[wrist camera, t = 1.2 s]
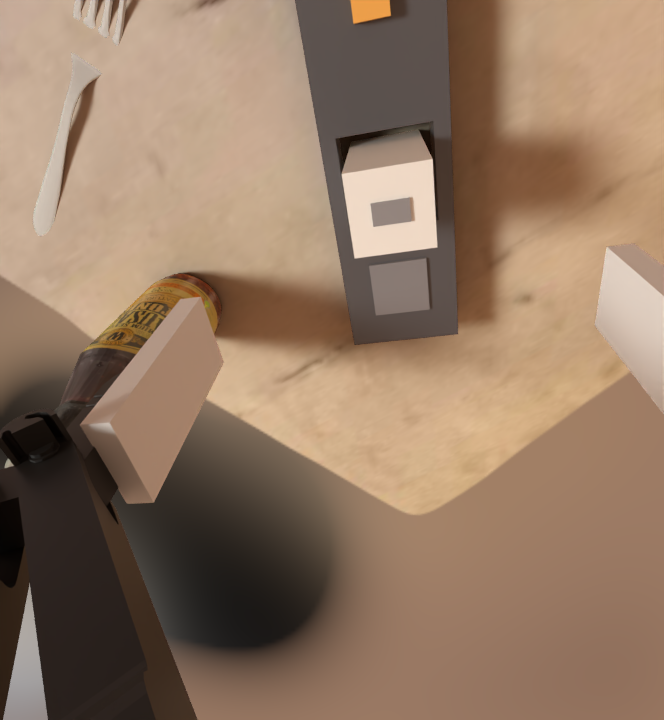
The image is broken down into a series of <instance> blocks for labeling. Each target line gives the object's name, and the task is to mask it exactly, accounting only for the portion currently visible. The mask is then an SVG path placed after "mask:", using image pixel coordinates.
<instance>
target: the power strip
mask: <svg viewBox="0 0 664 720" xmlns="http://www.w3.org/2000/svg"><path fill="white" fill-rule="evenodd" d="M295 3H296V9H297V14H298V20H299V26H300V32H301V37H302V43H303V49H304V55H305V61H306V66H307V72H308V78H309V84H310V90H311V95H312V101H313V107H314V113H315V118H316V124H317V130H318V136H319V142H320V147H321V153H322V159H323V165H324V170H325V176H326V182H327V188H328V194H329V199H330V205H331V211H332V217H333V223H334V228H335V234H336V240H337V246H338V251H339V257H340V263H341V269H342V275H343V280H344V286H345V292H346V298H347V303H348V309H349V315H350V321H351V327H352V332H353V338H354V344H355V345H359V344H368V343H378V342H387V341H397V340H407V339H416V338H426V337H435V336H445V335H454V334H458V319H457V289H456V259H455V229H454V200H453V170H452V140H451V110H450V80H449V51H448V21H447V0H295ZM425 122H430V138H431V156H432V159H433V176H434V194H435V212H436V231H437V248H429V249H422V250H415V251H407V252H400V253H392V254H385V255H377V256H370V257H363V258H354V251H353V245H352V238H351V232H350V225H349V219H348V213H347V206H346V200H345V193H344V187H343V180H342V171H343V168H344V163H343V157H342V150H341V143H340V138H342V137H347V136H353V135H358V134H364V133H370V132H375V131H381V130H386V129H392V128H398V127H403V126H409V125H414V124H420V123H425Z"/></svg>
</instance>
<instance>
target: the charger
mask: <svg viewBox="0 0 664 720" xmlns="http://www.w3.org/2000/svg"><path fill="white" fill-rule="evenodd" d="M342 180H343V187H344V193H345V200H346V206H347V213H348V219H349V225H350V232H351V238H352V245H353V251H354V258H363V257H370V256H377V255H385V254H392V253H400V252H407V251H415V250H422V249H429V248H437V231H436V212H435V194H434V176H433V159H432V157H431V155H430V153H429V151H428V148H427V146H426V144H425V142H424V140H423V138H422V136H421V134H420V132H419V130H414V131H408V132H402V133H397V134H391V135H385V136H380V137H374V138H368V139H363V140H357V141H351V145H350V148H349V151H348V154H347V158H346V161H345V164H344V168H343V171H342Z"/></svg>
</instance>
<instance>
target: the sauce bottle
mask: <svg viewBox="0 0 664 720" xmlns="http://www.w3.org/2000/svg"><path fill="white" fill-rule="evenodd" d="M194 297H201V299H202V302H203V304H204V307H205V310H206V313H207V316H208V319H209V321H210V324H211V327H212V330H213V333H215V331H216V328H217V327H218V325H219V321H220V318H221V311H222V310H221V304H220V301H219V298H218V296H217V294H216V293H215V291H214V290H213V289H212V288H211V287H210V286H209V285H208V284H207V283H205V282H204V281H202V280H200V279H198V278H196V277H194V276H190V275H188V274H185V275H184V274H180V273H179V274H174V275H171V276H169V277H165V278H164V279H162V280H160V281H157V282H156V283H154V284H153V285H152V286H151V287H149V288H148V289H147V290H146V291H145V292H144V293H143V294H142V295H141V296H140V297H139V298H138V299H137V300H136V301H135V302H134V303H133V304H132V305H131V306H130V307H129V308H128V309H127V310H126V311H125V312H124V313H122V314H121V315H120V316H119V317H118V318H117V319H116V320H115V321H114V322H113V323H112V324H111V325H110V326H109V327H108V328H107V329H106V330H105V331H104V332H103V333H102V334H101V335H100V336H99V337H98V338H97V339H96V340H95V341H94V342H92V343H91V344H90V345H89V346H88V347H87V348H86V349H85V350H84V351H83V352H82V353H81V354H80V356H79V359H78V361H77V363H76V366H75V368H74V370H73V373H72V375H71V377H70V380H69V382H68V384H67V387H66V389H65V392H64V394H63V396H62V400H61V403H60V405H59V406H58V407H57V409H56V410H55V411H54V412H55V413H56V414H57V415H58V417H59V418H60V420H61V422H62V423H63V425H64V427H65V428H66V429H67V427H68V426H69V425H70V424H71V423H72V421H73V420H74V419H75V418H76V417H77V415H78V414H79V413H80V412H81V411H82V409H83V408H85V407H86V405H87V403H88V402H89V401H90V400H91V398H94V395H95V394H96V392H97V391H98V390H99V389H100V388H101V386H102V385H103V384H104V383H106V382H107V381H109V380H110V379H111V378H113V377H114V376H115V375H117V374H121V373H122V372H123V370H124V369H125V368H126V367H127V365H128V364H129V363H130V362H131V360H132V359H133V358H134V357H135V355H136V354H137V353H138V352H139V350H140V349H141V348H142V347H143V345H144V344H145V343H146V342H147V340H148V339H149V338H150V337H151V335H152V334H153V333H154V332H155V330H156V329H157V328H158V327H159V325H160V324H161V323H162V322H163V320H164V319H165V318H166V317H167V315H168V314H169V313H170V312H171V310H172V309H173V308H174V307H175V305H176V304H177V303H178V302H179V300H180V299H186V298H194ZM11 466H14V465H13V464H12V463H11V461H10V460H9V458H8V459H7V461H6V464H5V468H8V467H11Z"/></svg>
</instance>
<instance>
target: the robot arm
mask: <svg viewBox="0 0 664 720" xmlns="http://www.w3.org/2000/svg"><path fill="white" fill-rule="evenodd" d="M595 327H596V328H597V329H598V331H599V332H600V333H601V334H602V336H603V337H604V338H605V340H606V341H607V342H608V343H609V345H610V346H611V347H612V348H613V350H614V351H615V352H616V354H617V355H618V356H619V357H620V359H621V360H622V361H623V363H624V364H625V365H626V366H627V368H628V369H629V370H630V372H631V373H632V374H633V375H634V377H635V378H636V379H637V381H638V382H639V383H640V384H641V386H642V387H643V388H644V390H646V392H647V393H648V395H649V396H650V397H651V399H652V400H653V401H654V402H655V404H656V405H657V406H658V408H659V409H660V410H661V411H662V413H663V414H664V266H663V265H662V264H661V263H659V262H658V261H657V260H656V259H654V258H653V257H652V256H650V255H649V254H648V253H646V252H645V251H644V250H642V249H641V248H640V247H638V246H637V245H636V244H634V243H632V244H624V245H616V246H608V247H607V248H606V255H605V261H604V268H603V275H602V281H601V288H600V294H599V301H598V308H597V314H596V321H595ZM223 363H224V361H223V359H222V356H221V353H220V350H219V347H218V344H217V341H216V339H215V336H214V333H213V330H212V327H211V324H210V321H209V319H208V316H207V313H206V310H205V307H204V304H203V302H202V299H201V297H194V298H186V299H180V300H179V302H178V303H177V304H176V305H175V307H174V308H173V309H172V310H171V312H170V313H169V314H168V315H167V317H166V318H165V319H164V320H163V322H162V323H161V324H160V325H159V327H158V328H157V329H156V330H155V332H154V333H153V334H152V335H151V337H150V338H149V339H148V340H147V342H146V343H145V344H144V345H143V347H142V348H141V349H140V350H139V352H138V353H137V354H136V355H135V357H134V358H133V359H132V360H131V362H130V363H129V364H128V365H127V367H126V368H125V369H124V370H123V372H122V373H121V374H117V375H115V376H114V377H113V378H111V379H110V380H109V381H107V382H106V383H104V384H103V385H102V386H101V388H100V389H99V390H98V391H97V392H96V394H95V395H94V398H91V400H90V401H89V402H88V403H87V405H86V407H85V408H83V409H82V411H81V412H80V413H79V414H78V415H77V417H76V418H75V419H74V420H73V421H72V423H71V424H70V425H69V426H68V427H67V429H66V428H65V427H64V425H63V423H62V422H61V420H60V418H59V417H58V415H57V414H56V413H55V412H54V411H53V410H52V409H40V410H34V411H32V412H29V413H26V414H23V415H22V416H20V417H18V418H16V419H14V420H12V421H11V422H10V423H8V424H7V425H6V426H5V427H3V428H2V430H1V431H0V448H1V449H2V450H3V452H4V453H5V454H6V456H7V457H8V458H9V460H10V461H11V463H12V464H13V465H14V466H11V467H8V468H4V469H1V470H0V720H3V715H4V711H5V706H6V701H7V696H8V691H9V685H10V679H11V675H12V670H13V665H14V660H15V655H16V650H17V644H18V639H19V634H20V629H21V624H22V619H23V614H24V609H25V603H26V598H27V593H28V588H29V583H30V587H31V595H32V602H33V610H34V617H35V625H36V632H37V640H38V647H39V655H40V661H41V669H42V678H43V685H44V692H45V700H46V708H47V715H48V720H197V717H196V715H195V712H194V709H193V707H192V704H191V702H190V699H189V696H188V694H187V691H186V689H185V686H184V683H183V681H182V678H181V676H180V673H179V671H178V668H177V666H176V663H175V660H174V658H173V655H172V652H171V650H170V647H169V645H168V642H167V640H166V637H165V635H164V632H163V629H162V627H161V624H160V622H159V619H158V616H157V614H156V611H155V608H154V606H153V604H152V601H151V598H150V596H149V593H148V590H147V588H146V585H145V583H144V580H143V578H142V575H141V572H140V570H139V567H138V565H137V562H136V559H135V557H134V554H133V552H132V549H131V547H130V544H129V541H128V539H127V536H126V534H125V531H124V528H123V526H122V523H121V521H120V518H119V515H118V513H117V510H116V508H115V507H114V505H113V503H112V502H111V499H112V497H113V495H114V494H115V492H116V490H117V489H118V490H119V491H120V493H121V494H122V496H123V498H124V499H125V501H126V503H127V504H132V503H152V502H154V501H155V499H156V497H157V495H158V493H159V491H160V489H161V487H162V485H163V483H164V481H165V479H166V477H167V475H168V472H169V471H170V469H171V467H172V464H173V463H174V461H175V459H176V457H177V454H178V453H179V451H180V449H181V447H182V445H183V443H184V441H185V439H186V437H187V434H188V433H189V431H190V429H191V427H192V425H193V423H194V421H195V419H196V417H197V415H198V412H199V411H200V409H201V407H202V405H203V403H204V401H205V399H206V397H207V395H208V393H209V391H210V389H211V387H212V385H213V383H214V381H215V379H216V377H217V375H218V373H219V371H220V369H221V367H222V365H223Z"/></svg>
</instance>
